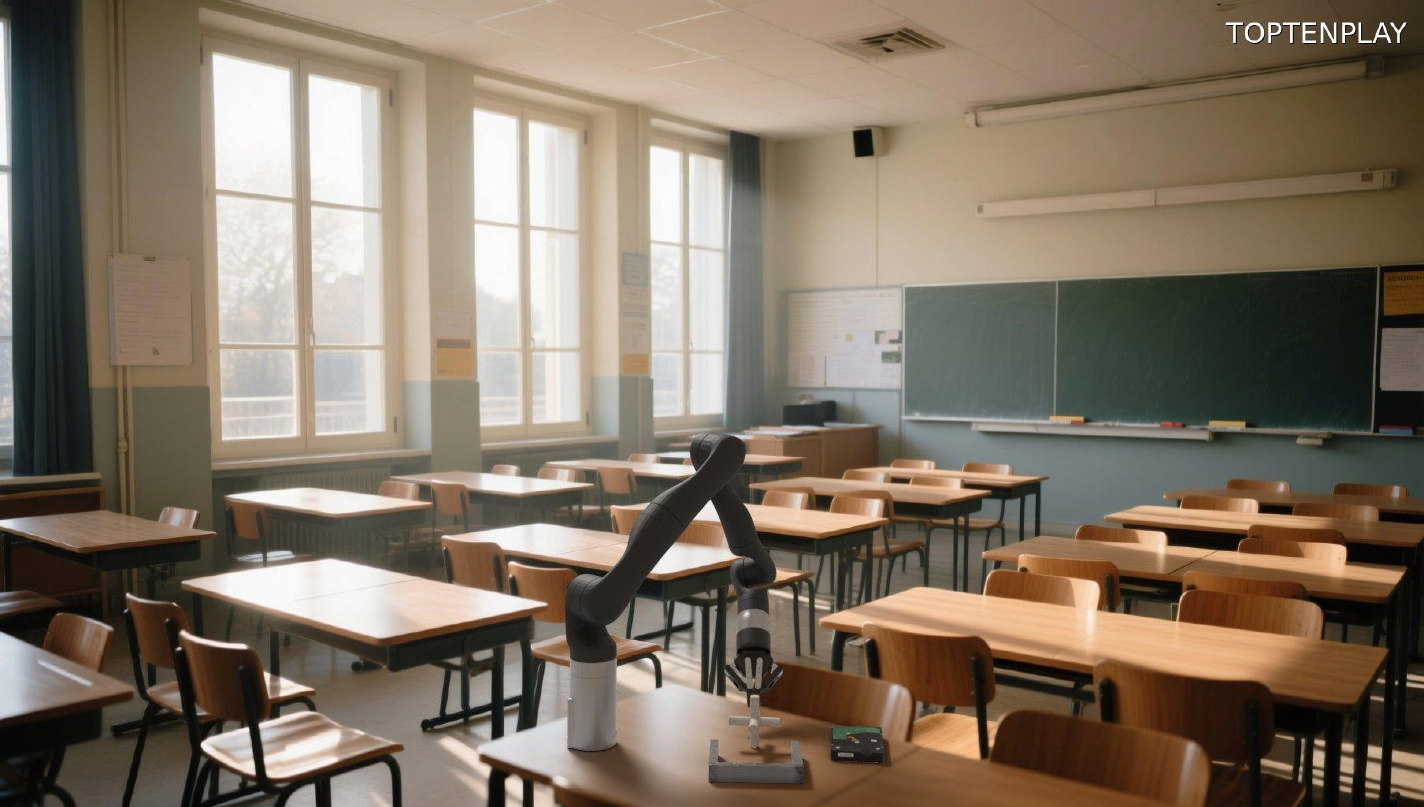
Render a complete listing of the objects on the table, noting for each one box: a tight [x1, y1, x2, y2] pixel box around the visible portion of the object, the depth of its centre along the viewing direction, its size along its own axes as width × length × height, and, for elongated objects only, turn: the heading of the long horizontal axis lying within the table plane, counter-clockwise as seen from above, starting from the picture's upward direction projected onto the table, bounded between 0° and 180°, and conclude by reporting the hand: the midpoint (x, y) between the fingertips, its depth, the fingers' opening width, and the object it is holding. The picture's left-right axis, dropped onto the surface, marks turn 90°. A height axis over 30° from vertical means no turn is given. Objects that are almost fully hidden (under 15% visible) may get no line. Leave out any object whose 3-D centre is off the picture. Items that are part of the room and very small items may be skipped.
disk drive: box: [829, 724, 885, 764], centre depth 199 cm, size 10×3×15 cm
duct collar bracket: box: [707, 739, 805, 784], centre depth 188 cm, size 17×14×3 cm
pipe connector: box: [728, 695, 781, 748], centre depth 200 cm, size 10×10×10 cm
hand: (753, 708), depth 209 cm, fingers closed
